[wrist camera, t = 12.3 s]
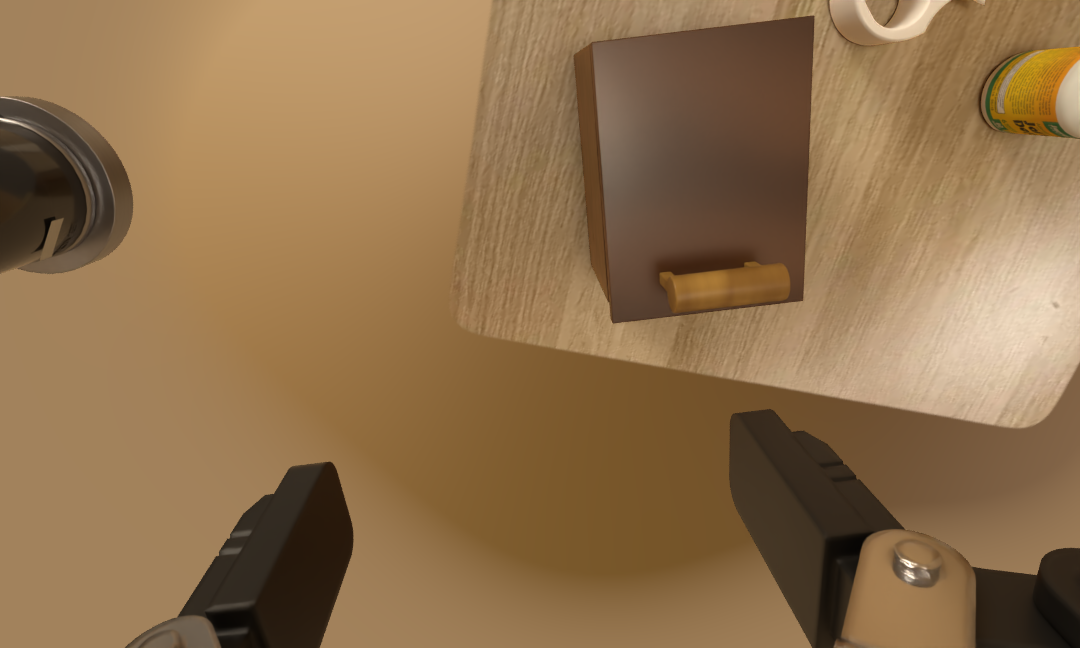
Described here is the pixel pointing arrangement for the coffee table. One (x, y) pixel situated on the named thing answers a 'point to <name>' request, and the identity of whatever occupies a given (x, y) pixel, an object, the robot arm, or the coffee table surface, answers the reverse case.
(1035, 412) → the coffee table surface
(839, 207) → the coffee table surface
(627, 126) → the lid
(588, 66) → the chest
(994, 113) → the supplement bottle
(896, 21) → the white brass knuckles
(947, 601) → the robot arm
